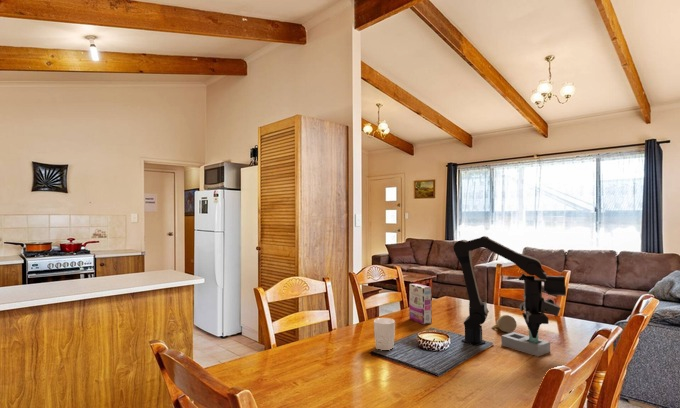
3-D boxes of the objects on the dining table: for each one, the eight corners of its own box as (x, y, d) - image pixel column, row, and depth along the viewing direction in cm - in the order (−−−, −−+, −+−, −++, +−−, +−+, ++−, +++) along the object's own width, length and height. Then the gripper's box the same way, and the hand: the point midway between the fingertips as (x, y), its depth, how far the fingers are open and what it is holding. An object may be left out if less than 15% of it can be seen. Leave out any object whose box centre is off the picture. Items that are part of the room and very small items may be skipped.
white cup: (394, 352, 139) (394, 324, 139) (372, 350, 140) (372, 323, 141) (395, 344, 147) (395, 318, 147) (375, 343, 148) (375, 317, 148)
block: (537, 356, 134) (537, 346, 134) (501, 345, 146) (501, 335, 146) (550, 351, 138) (550, 342, 138) (513, 340, 150) (513, 331, 150)
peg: (535, 348, 137) (535, 320, 137) (527, 345, 140) (527, 318, 140) (540, 346, 139) (539, 318, 139) (532, 344, 141) (531, 316, 141)
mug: (507, 326, 169) (515, 309, 165) (511, 343, 161) (520, 325, 156) (489, 322, 170) (497, 305, 166) (493, 338, 162) (501, 320, 157)
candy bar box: (432, 323, 174) (432, 287, 174) (423, 325, 172) (423, 288, 172) (417, 317, 184) (417, 282, 184) (408, 318, 182) (408, 283, 182)
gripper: (565, 300, 128) (565, 347, 128) (551, 289, 146) (551, 330, 146) (528, 298, 131) (529, 344, 131) (519, 287, 149) (519, 328, 149)
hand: (533, 336), depth 139 cm, fingers closed on peg, 3 cm apart
